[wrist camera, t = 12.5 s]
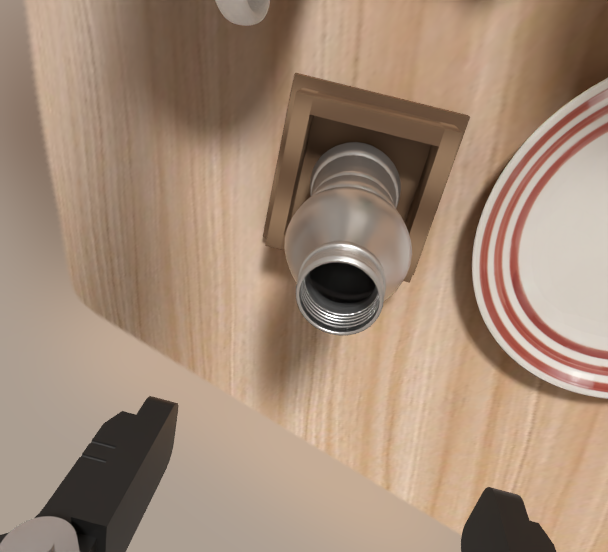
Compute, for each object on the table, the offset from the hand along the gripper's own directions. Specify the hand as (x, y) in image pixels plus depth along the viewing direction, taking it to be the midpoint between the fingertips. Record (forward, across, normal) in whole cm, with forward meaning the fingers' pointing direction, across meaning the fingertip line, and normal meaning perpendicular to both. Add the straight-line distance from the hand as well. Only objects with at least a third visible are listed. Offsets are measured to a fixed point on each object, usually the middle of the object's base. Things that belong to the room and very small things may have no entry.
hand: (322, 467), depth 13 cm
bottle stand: (+30, 0, 0) cm, 30 cm away
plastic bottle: (+29, 0, 0) cm, 29 cm away
